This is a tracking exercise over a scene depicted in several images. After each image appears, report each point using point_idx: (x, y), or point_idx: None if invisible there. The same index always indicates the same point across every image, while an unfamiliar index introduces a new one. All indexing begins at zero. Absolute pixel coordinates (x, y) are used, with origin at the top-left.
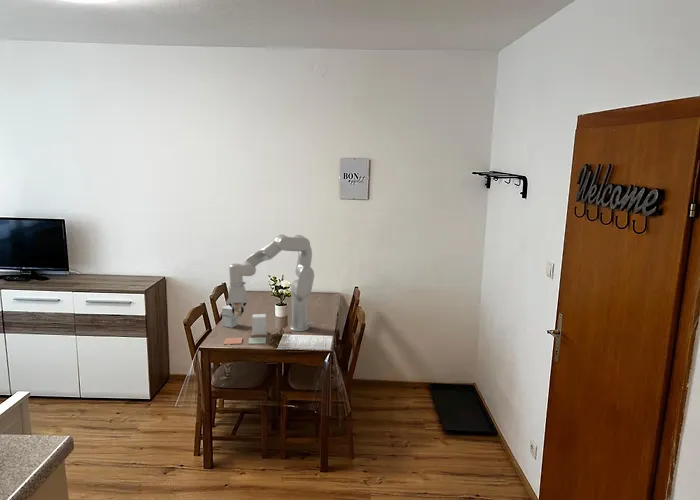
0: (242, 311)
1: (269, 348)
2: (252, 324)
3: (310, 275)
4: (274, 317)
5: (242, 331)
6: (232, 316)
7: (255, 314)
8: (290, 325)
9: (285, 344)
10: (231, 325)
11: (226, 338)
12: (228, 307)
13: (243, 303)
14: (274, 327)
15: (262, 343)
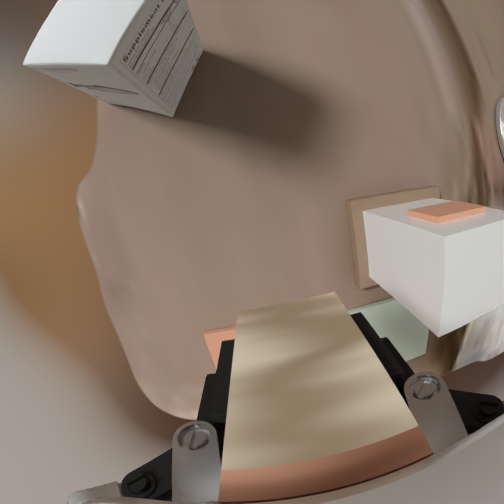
0: None
1: None
2: (405, 306)
3: None
4: None
5: (275, 178)
6: (152, 76)
7: (466, 238)
8: (501, 119)
9: (479, 335)
10: (168, 113)
11: (212, 337)
12: (74, 30)
13: (454, 418)
14: (443, 108)
15: (412, 356)
